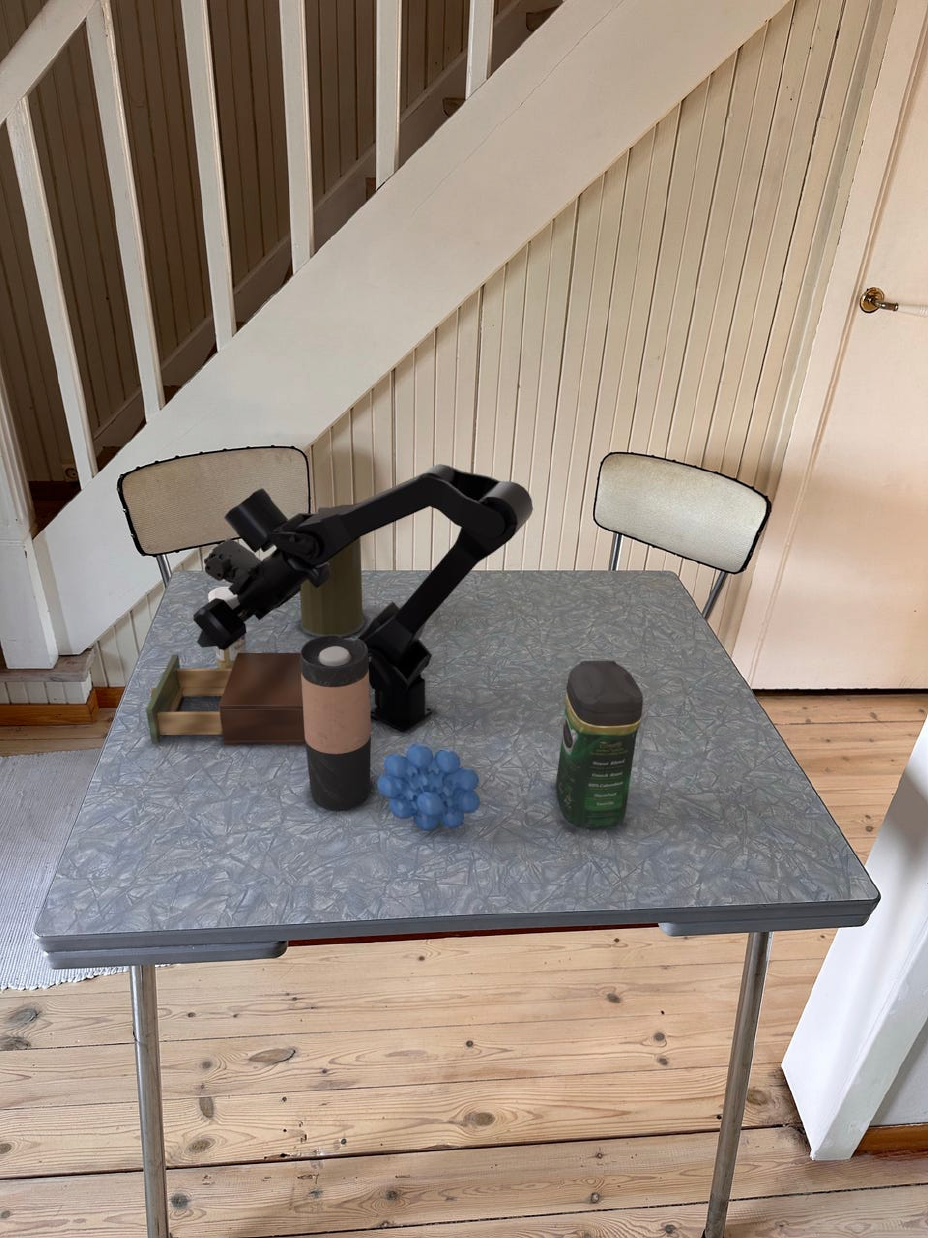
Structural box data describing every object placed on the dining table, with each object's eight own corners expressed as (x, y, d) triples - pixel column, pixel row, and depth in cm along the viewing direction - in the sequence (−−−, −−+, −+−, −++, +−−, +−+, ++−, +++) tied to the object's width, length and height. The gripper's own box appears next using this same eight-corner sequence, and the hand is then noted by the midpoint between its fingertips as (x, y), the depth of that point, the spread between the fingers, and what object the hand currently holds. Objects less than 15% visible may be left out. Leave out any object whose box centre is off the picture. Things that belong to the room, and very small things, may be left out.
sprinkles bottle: (248, 680, 124) (240, 598, 117) (216, 682, 123) (206, 600, 116) (250, 664, 127) (242, 584, 121) (219, 665, 127) (209, 585, 120)
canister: (360, 640, 135) (356, 524, 125) (295, 638, 135) (287, 521, 125) (367, 608, 144) (365, 498, 135) (307, 606, 144) (300, 496, 135)
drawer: (142, 744, 109) (135, 709, 106) (168, 686, 121) (163, 654, 118) (246, 743, 110) (242, 708, 107) (262, 686, 121) (259, 654, 119)
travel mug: (321, 820, 98) (312, 674, 88) (300, 782, 104) (289, 641, 94) (382, 801, 101) (379, 659, 91) (358, 765, 107) (354, 628, 97)
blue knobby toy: (377, 856, 93) (374, 770, 87) (378, 815, 99) (376, 732, 93) (481, 854, 94) (486, 769, 88) (477, 813, 100) (481, 730, 94)
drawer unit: (223, 744, 110) (218, 705, 107) (241, 689, 121) (237, 652, 118) (316, 744, 110) (313, 705, 108) (325, 689, 122) (323, 652, 119)
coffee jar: (632, 831, 98) (655, 698, 89) (566, 835, 97) (582, 701, 88) (610, 778, 106) (628, 651, 97) (549, 781, 105) (562, 654, 96)
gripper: (277, 506, 121) (220, 563, 129) (197, 554, 105) (138, 615, 114) (328, 566, 122) (268, 618, 130) (256, 622, 106) (194, 677, 115)
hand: (219, 629), depth 122 cm, fingers open, 9 cm apart
